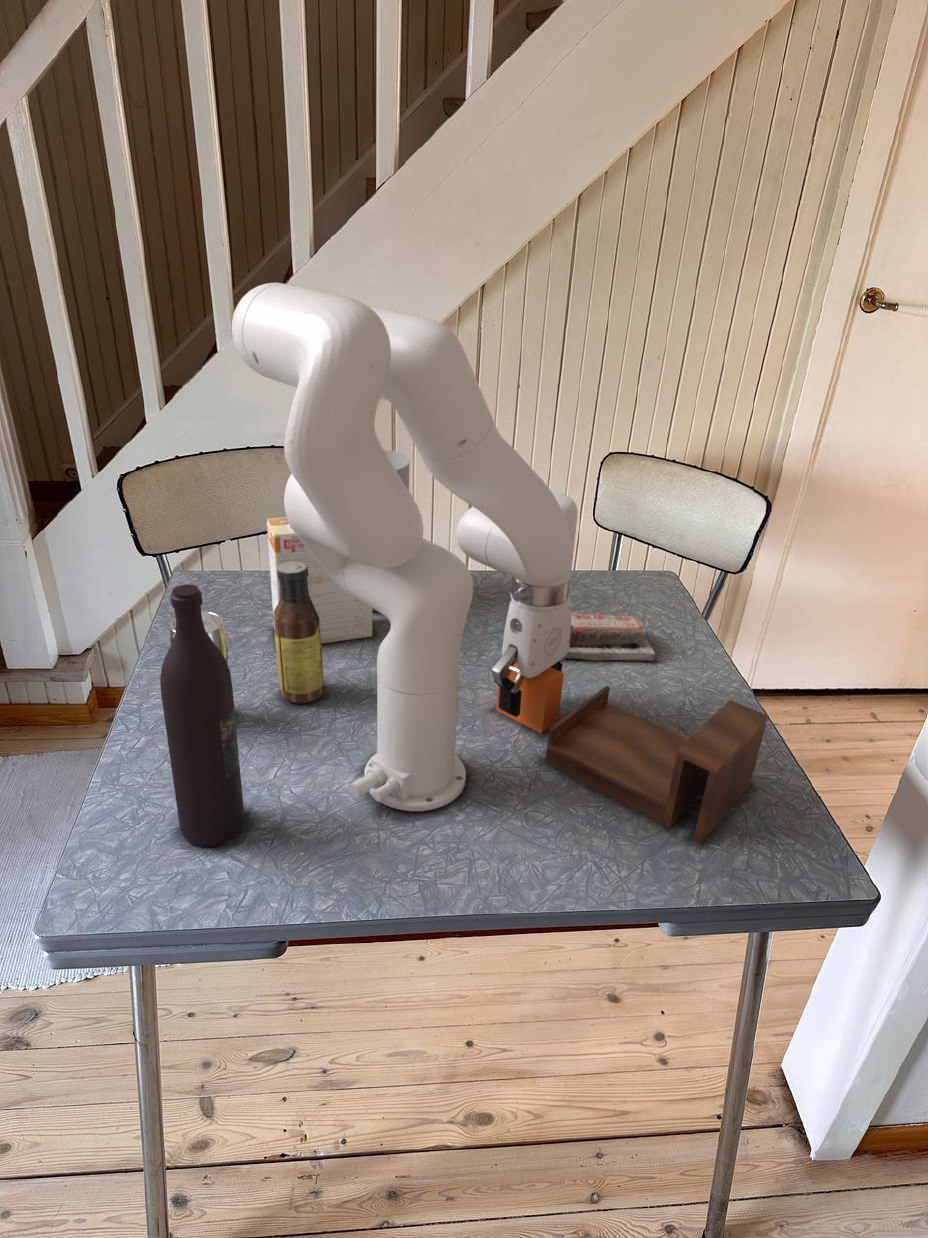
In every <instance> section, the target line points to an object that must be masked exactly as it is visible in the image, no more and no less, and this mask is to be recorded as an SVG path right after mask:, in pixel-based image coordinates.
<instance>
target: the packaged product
mask: <svg viewBox="0 0 928 1238" xmlns="http://www.w3.org/2000/svg"><path fill="white" fill-rule="evenodd" d="M571 625H572V626H573V630H572V633H571V635H570V644H569V650H568V653H567V654H566V656H565V659H571V660H587V661H598V662H600V661H640V662H641V661H642V662H653V660H654V658H655V656H656V653H655V651H654V649H653V648H652V645H651V643H650V642H649V640H648V638H647V631H646V628H645V625H644V623H643V622H642V621H640V620H639V618H637V617H636V616H627V615H609V614H590V613H589V614H586V613H584V614H583V613H571Z"/></svg>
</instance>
